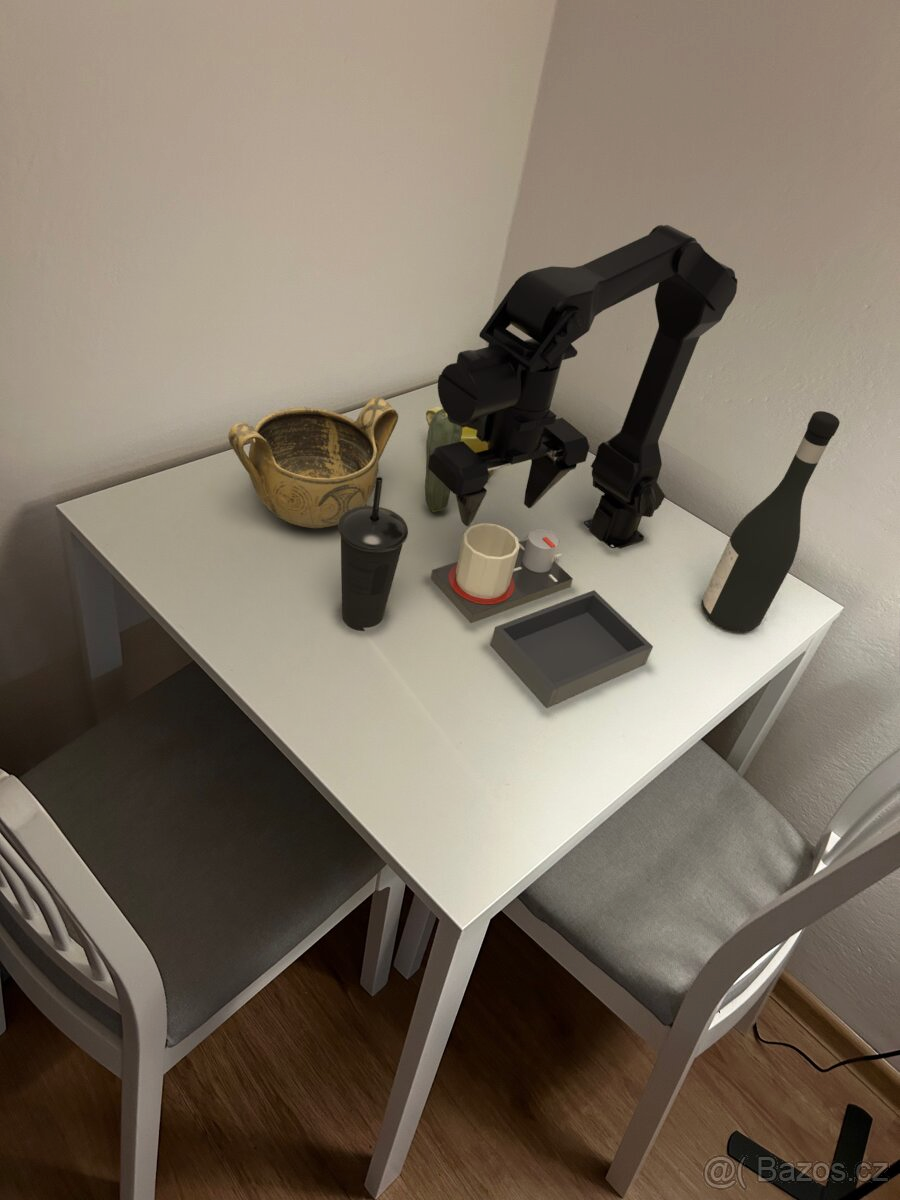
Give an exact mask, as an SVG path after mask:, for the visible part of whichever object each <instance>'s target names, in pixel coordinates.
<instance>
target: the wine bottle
mask: <svg viewBox="0 0 900 1200" xmlns="http://www.w3.org/2000/svg"><path fill="white" fill-rule="evenodd" d="M839 419H840V418H838V417H837V416H836V415H834V413H830V412H828V411H824V410H823V411H822V410H818V411H815V412H813V413H812V415H811V417H810V418H809V421H808V423H807V428H806V430H805V433H804V435H803V437H802V439H801V441H800V443H799V445H798V448H797V450H796V451H795V453H794V457H793V458H792V460H791V462H790V464H789V466H788V468H787V470H786V472H785V474H784V476H783V478H782V479H781V481H780V482H779V484H778V485H777V486H776V487H775V489H774V490H772V491H771V493H770V494H769V495H767V496H766V498H765V499H764V500H762V501H761V502H760V503H758V504H757V505H756V506H754V508H753V509H751V510H750V511H749V512H748V513H747V514H746V515H745V516H744V517H743V518H742V519H741V520H740V522H739V523H738V524H737V525H736V527H735V528H734V530H733V531H732V533H731V535H730V537H729V539H728V541H727V543H726V546H725V548H724V549H723V552H722V554H721V556H720V558H719V561H718V563H717V565H716V567H715V569H714V572H713V573H712V576H711V577H710V580H709V583H708V584H707V587H706V589H705V591H704V594H703V596H702V598H701V608H702V611H703V613H704V615H705V616H706V618H707V619H708V620H709V621H710V622H711V623H713V624H714V625H715V626H717V627H718V628H720V629H722V630H724V631H728V632H732V633H739V634H740V633H743V634H745V633H749V632H752V631H754V630H755V629H757V627H759V626H760V625H761V623H762V622H763V620H764V618H765V616H766V615H767V614H768V611H769V609H770V607H771V605H772V603H773V601H774V599H775V598H776V595H778V592H779V590H780V588H781V587H782V585H783V582H784V581H785V579H786V577H787V575H788V573H789V571H790V570H791V567H792V566H793V564H794V561H795V558H796V555H797V552H798V547H799V543H800V538H801V520H802V519H801V517H802V503H803V497H804V494H805V491H806V489H807V486H808V484H809V482H810V479H811V478H812V475H814V474H813V473H814V472H815V470H816V468H817V466H818V465H819V462H820V460H821V458H822V456H823V454H824V452H825V450H826V449H827V446H828V445H829V443H830V441H831V439H832V438H833V437H834V436H835V435H836V433H837V431H838V428H839V426H840V424H841V422H840V421H841V420H839Z"/></svg>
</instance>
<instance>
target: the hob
mask: <svg viewBox="0 0 900 1200" xmlns="http://www.w3.org/2000/svg"><path fill="white" fill-rule="evenodd" d="M518 542H519V547H520V548H519V551H518V555H517V559H516V563H515V567H514V570H513V574H512V578H513V580H514V585H515V587H514V592H513V594H512V595H511V596H510V598H508V599H507V600H505V601H503V602H501V603H498V604H491V605H484V604H477V603H474V602H470V601H468V600H466V599H464V598H462V597H461V596H459V595H458V594H457V593H456V592H455V591H454V590H453V589H452V588H451V586H450V584H449V580H448V576H449V572H450V570H451V568H452V567H453V566H454V565H456V564H457V563H458V561H456V562H452V563H449V564H447V565H442V566H440V567H437V568H434V569H431V574H430V580H431V581H432V582H433V583H434V584H435V585H436V587H438V588H439V589H440V591H441V592H442V593H443V594H444V596H446V598H448V600H449V601H450V602H451V603H452V604H453V606H455V608H456V609H457V610H458V611H459V613H461V614H462V615H463V617H464V618H465V619H466V620H467V621H468V622H469V623H470V624H473V623H477V622H478V621H479V622H480V621H482V620H484V619H487V618H490V617H493V616H495V615H498V614H500V613H503V612H507V611H509V610H511V609H515V608H518V607H519V606H522V605H525V604H527V603H531V602H533V601H536V600H539V599H542V598H544V597H547V596H550V595H552V594H556V593H559V592H561V591H564V590H566V589H570V588H571V586H572V583H573V581H574V580H573V577H572V576H571V575H570V574H569V573H567V571H565V570H564V569H563V568H562V566H560V565H559V563H557V562H556V560H554V562H553V565H552V568H551V569H550V570H549V571H547V572H543V573H538V572H534V571H531V570H529V569H527V568H526V567H525V566H524V565H523V563H522V557H523V554H524V550H525V546H526V543H527V539H525V540H522V541H518ZM561 556H563V554H562V553H561V552H560V553H556V555H555V558H554V559H557V558H559V557H561Z"/></svg>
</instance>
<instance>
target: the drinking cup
mask: <svg viewBox="0 0 900 1200" xmlns="http://www.w3.org/2000/svg"><path fill="white" fill-rule="evenodd" d="M382 486H383V477H380V476H377V478H376V484H375V487H374V492H373V501H372V505H364V506H361V507H356V508H353V509H351V510H349V511H347V512H345V513H344V514H343V515H342V516H341V518H340V520H339V523H338V524H337V529H338V534H339V535H340V566H341V567H340V573H341V574H340V575H341V577H340V581H341V619H342V620H343V622H344V624H346V625H347V626H348V627H349V628H351V629H353V630H356V631H364V632H365V631H366V629H368V628H372V627H376V626H377V625H379V624H380V623H381V622H382V621H383V618H384V616H385V612H386V608H387V603H388V600H389V596H390V593H391V590H392V586H393V583H394V582H393V581H394V578H395V574H396V570H397V567H398V563H399V561H400V556H401V552H402V548H403V545H404V543H405V542H406V541H407V539H408V536H409V528H408V524H407V522H406V520H404V518H403V517H402V516H400V515H399V514H398V513H397V512H395V511H393V510H390V509H388V508H386V507H382V506H380V504H381V495H382V488H383V487H382Z"/></svg>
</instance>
